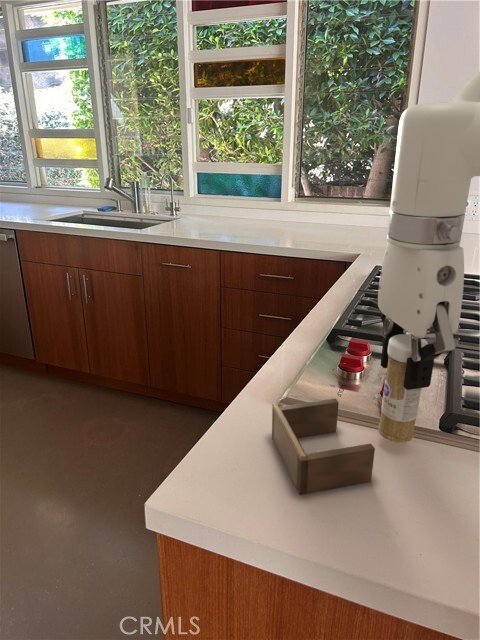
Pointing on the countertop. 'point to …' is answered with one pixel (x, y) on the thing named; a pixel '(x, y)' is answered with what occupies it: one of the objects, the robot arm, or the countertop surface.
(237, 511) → the countertop surface
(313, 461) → the u-shaped bracket
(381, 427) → the sprinkles bottle
